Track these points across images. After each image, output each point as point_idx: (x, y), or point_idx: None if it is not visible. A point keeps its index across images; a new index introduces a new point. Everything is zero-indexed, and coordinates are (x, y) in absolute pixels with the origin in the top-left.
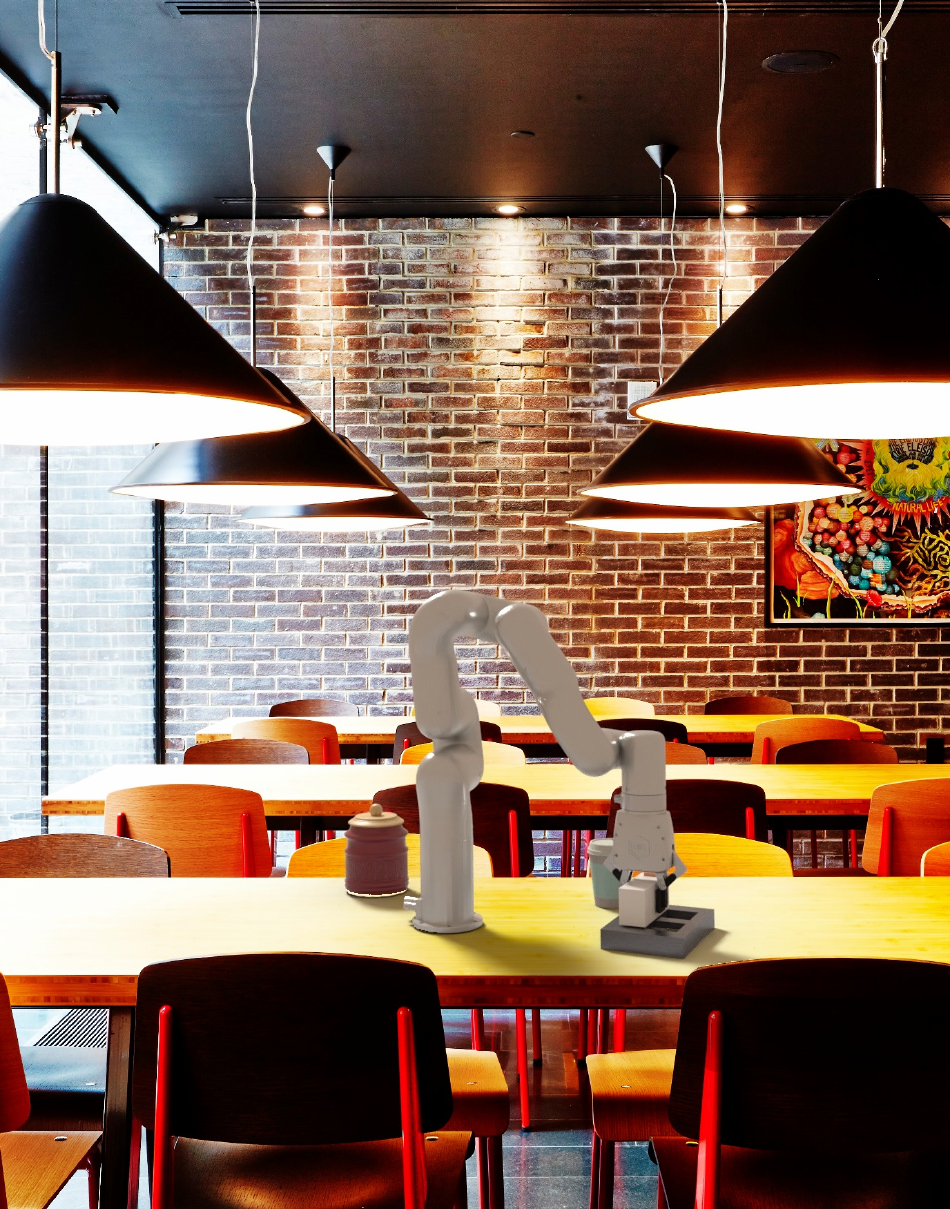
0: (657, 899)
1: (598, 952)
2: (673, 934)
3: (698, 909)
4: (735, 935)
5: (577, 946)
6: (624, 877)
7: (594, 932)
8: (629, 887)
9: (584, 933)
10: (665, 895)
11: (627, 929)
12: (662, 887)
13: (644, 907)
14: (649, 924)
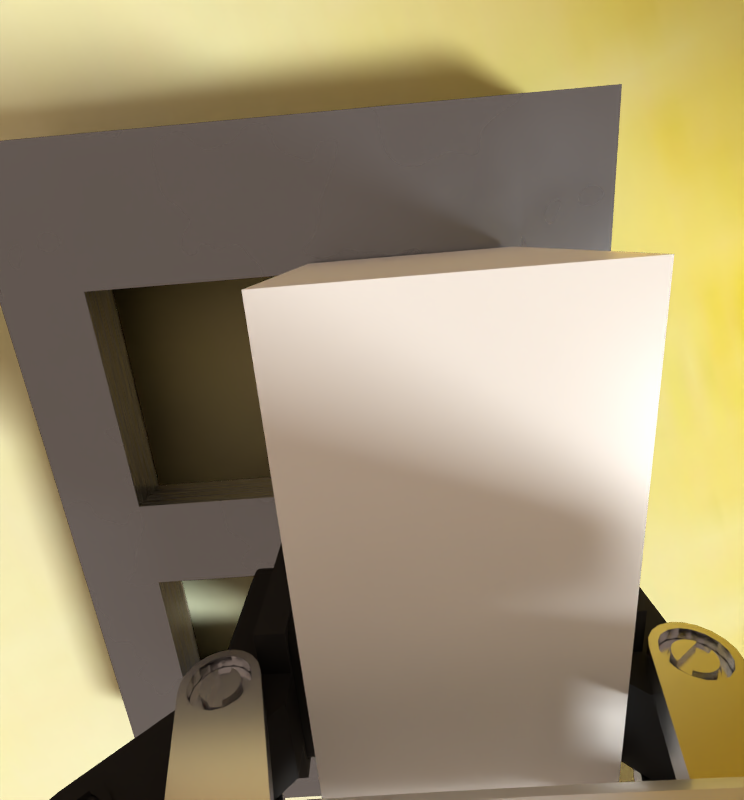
0: None
1: (552, 32)
2: (72, 222)
3: None
4: (57, 657)
5: (715, 97)
6: (717, 712)
7: (686, 419)
8: (527, 383)
9: (736, 377)
10: (236, 637)
11: (422, 186)
12: (228, 679)
13: (288, 272)
14: None
